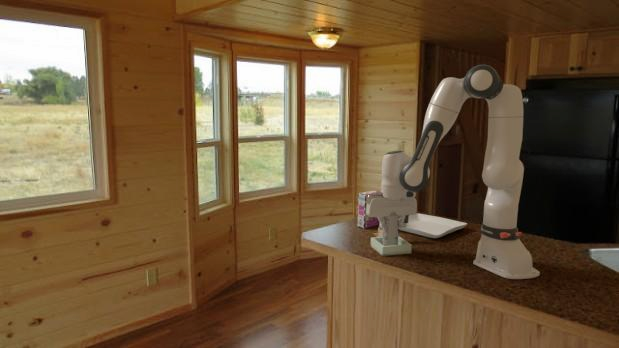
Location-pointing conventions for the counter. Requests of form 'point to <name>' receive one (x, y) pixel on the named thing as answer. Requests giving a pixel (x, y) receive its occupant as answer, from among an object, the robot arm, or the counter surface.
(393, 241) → the energy drink can
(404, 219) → the crank lever
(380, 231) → the crank pedestal
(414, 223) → the square plate
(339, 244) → the counter surface
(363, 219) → the candy bar box
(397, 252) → the tray
